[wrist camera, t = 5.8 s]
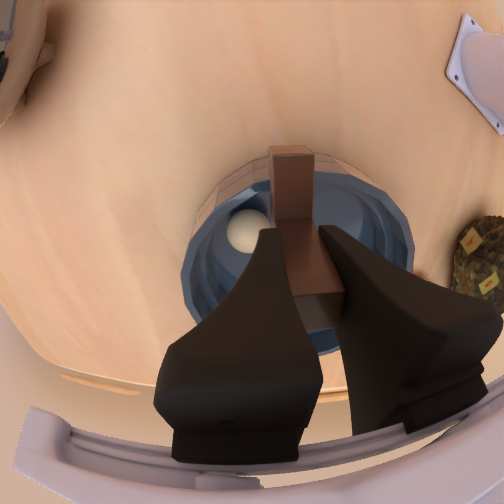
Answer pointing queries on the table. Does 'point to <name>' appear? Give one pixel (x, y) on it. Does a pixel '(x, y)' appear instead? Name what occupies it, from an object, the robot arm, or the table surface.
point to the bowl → (258, 198)
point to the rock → (481, 261)
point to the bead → (246, 229)
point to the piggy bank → (20, 50)
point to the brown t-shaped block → (303, 238)
